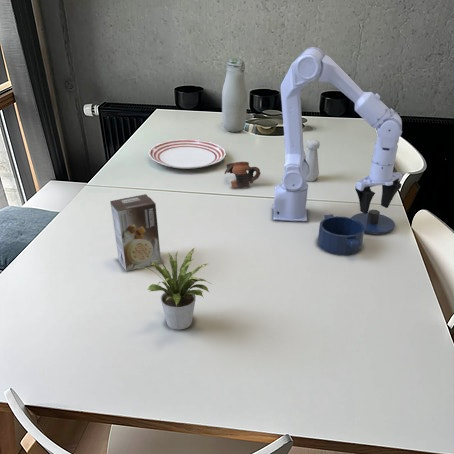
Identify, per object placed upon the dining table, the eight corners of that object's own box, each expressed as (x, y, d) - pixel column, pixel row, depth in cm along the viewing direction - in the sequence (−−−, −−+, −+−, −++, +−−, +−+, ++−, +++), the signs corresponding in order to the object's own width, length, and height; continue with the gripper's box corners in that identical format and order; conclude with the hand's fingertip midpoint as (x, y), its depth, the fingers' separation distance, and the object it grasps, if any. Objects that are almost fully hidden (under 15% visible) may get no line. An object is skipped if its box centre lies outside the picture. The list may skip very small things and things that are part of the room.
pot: (332, 263, 128) (335, 243, 125) (307, 232, 141) (309, 214, 138) (373, 257, 130) (377, 238, 127) (345, 227, 144) (347, 210, 141)
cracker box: (152, 251, 132) (147, 193, 123) (161, 263, 127) (157, 203, 118) (117, 259, 128) (109, 200, 119) (125, 272, 124) (118, 211, 115)
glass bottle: (220, 134, 212) (220, 60, 196) (224, 126, 220) (225, 55, 204) (244, 135, 210) (246, 61, 195) (247, 128, 219) (249, 56, 203)
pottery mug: (222, 189, 166) (219, 163, 165) (232, 192, 175) (229, 167, 174) (258, 184, 162) (255, 157, 161) (266, 187, 171) (264, 161, 170)
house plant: (150, 354, 99) (144, 283, 90) (132, 314, 110) (124, 247, 101) (219, 336, 104) (219, 266, 95) (195, 299, 115) (193, 233, 105)
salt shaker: (317, 183, 170) (321, 144, 162) (300, 181, 171) (303, 142, 163) (318, 176, 174) (322, 138, 167) (301, 175, 175) (305, 137, 168)
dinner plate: (239, 156, 190) (240, 147, 188) (196, 180, 171) (196, 171, 169) (179, 142, 202) (179, 134, 200) (133, 164, 183) (132, 154, 181)
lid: (362, 237, 139) (364, 223, 137) (342, 218, 148) (344, 204, 146) (402, 232, 142) (405, 218, 139) (380, 213, 151) (383, 200, 149)
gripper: (373, 171, 129) (364, 220, 136) (414, 161, 135) (404, 209, 142) (353, 162, 134) (346, 210, 141) (395, 153, 140) (385, 200, 148)
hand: (374, 209), depth 142 cm, fingers open, 7 cm apart
